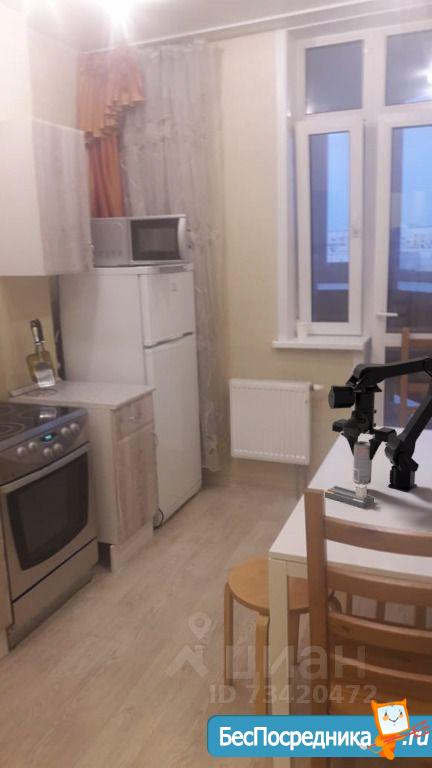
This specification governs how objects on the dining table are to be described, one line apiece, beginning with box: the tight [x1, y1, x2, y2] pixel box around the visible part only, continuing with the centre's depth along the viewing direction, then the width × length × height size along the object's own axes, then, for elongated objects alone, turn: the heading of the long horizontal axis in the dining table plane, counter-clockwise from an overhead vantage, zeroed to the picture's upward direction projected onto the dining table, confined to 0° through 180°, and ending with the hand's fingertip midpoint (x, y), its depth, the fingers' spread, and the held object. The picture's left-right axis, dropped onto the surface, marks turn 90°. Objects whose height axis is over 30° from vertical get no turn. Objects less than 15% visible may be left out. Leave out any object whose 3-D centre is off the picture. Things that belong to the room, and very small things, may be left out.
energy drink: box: [352, 440, 373, 486], centre depth 182 cm, size 5×5×12 cm
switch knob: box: [355, 484, 368, 499], centre depth 174 cm, size 2×2×4 cm
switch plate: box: [324, 485, 375, 509], centre depth 177 cm, size 13×6×2 cm, turn 46°
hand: (362, 457), depth 182 cm, fingers closed on energy drink, 5 cm apart
